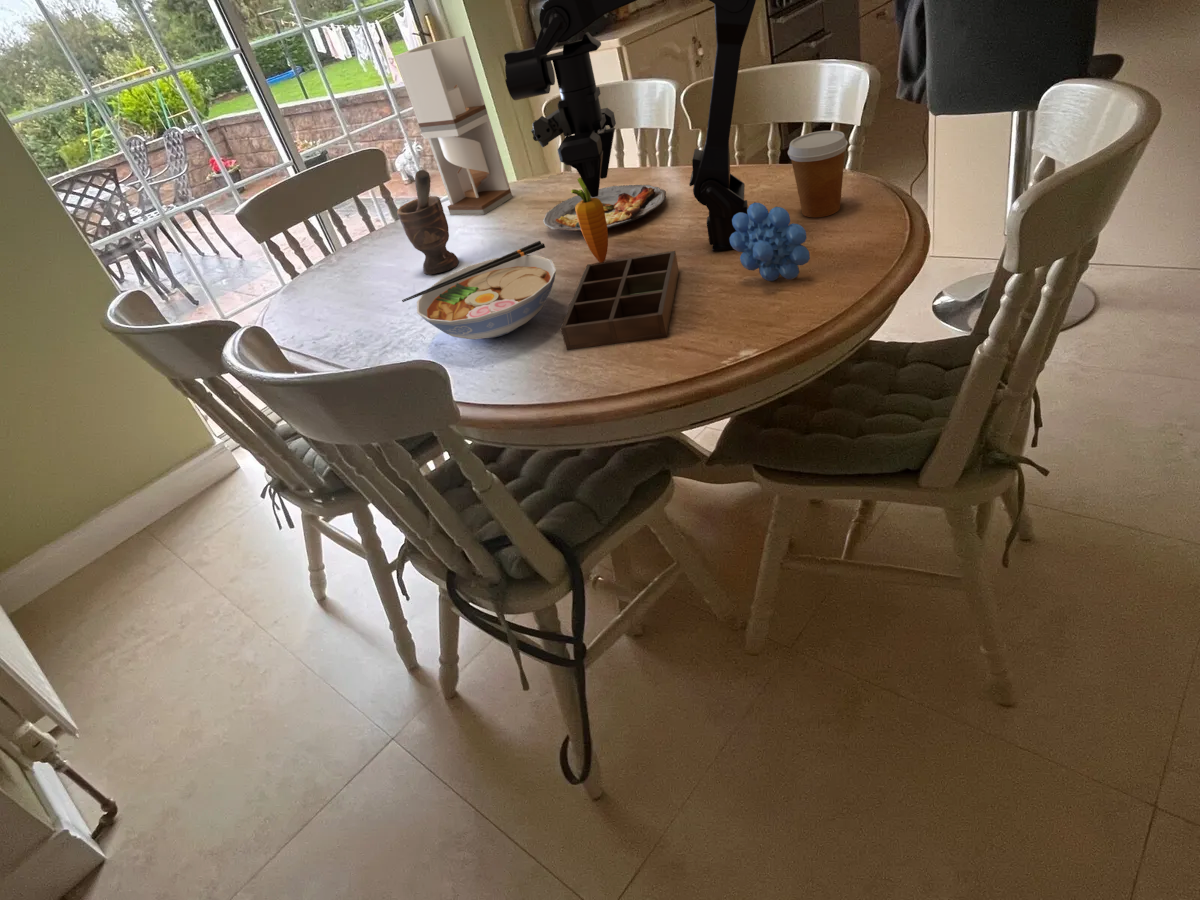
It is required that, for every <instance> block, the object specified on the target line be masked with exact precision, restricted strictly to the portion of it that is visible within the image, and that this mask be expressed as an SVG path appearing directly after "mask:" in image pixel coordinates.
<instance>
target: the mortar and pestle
mask: <svg viewBox="0 0 1200 900" xmlns="http://www.w3.org/2000/svg"><path fill="white" fill-rule="evenodd" d="M431 181H432V180H431V176H430V173H429V172H428V171H427V170H425V169H419V170H418V171H416V172H415V176H414V185H415V192H416V196H417V198H415V199H412V200H411V201H408V202H406V203H404V204H403V205H401V206H400V207H399V208H398V209H397V210H396V214H397V217H398V219H399V222H400V223H401V226H402V229H403V231H404V233H405V235H406V237H407V239H408V241H409V242H410V243H411V244H412V246H413V248H414V249H416V250H417V251H419V252H421V253H422V254H423V255H424V256H425V257H424V261H423V263H422V271H423V272H422V273H424V274H425V275H429V276H431V275H435V274H436V275H437V274H441V273H445V272H449V271H450V270H452V269H454V268H456V267H457V266H458V264H459V258H458V257H457V255H456V254H455V253H454V252H452V251H449V250H448V249H447V244H448V241H449V239H450V233H449V224H448V220H447V217H446V214H445V211H444V207H443V204H442V201H441V198H440V197H439V196H437V195H431V196H430V192H431Z"/></svg>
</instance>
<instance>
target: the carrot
mask: <svg viewBox="0 0 1200 900" xmlns="http://www.w3.org/2000/svg"><path fill="white" fill-rule="evenodd" d="M577 182H578V184H579V185H580V188H581V189H575V188H574V189H573V188H572V189H571V190H570V192H571V194H575V195H576V196H580V197H581V198H582V201H580V202H579V203H578V204H577V205H576V206H575V211H576V215H577V218H578V222H579V225H580V228H581V230H580V231H581V234H582V236H583V238H584V240H585V243H586V245H587V247H588V249H589V251H590V252H591V254H592V255H593V257H594V258H595V259H596V260H597V262H598V263H600V262H606V258H607V255H608V248H609V233H608V228H607V223H606V218H605V213H604V208H603V204H602V202H601V201H600V200H599V199H598V198H591V195H590V193H589V191H588V189H587V188H586V186H585V184H584V182H583V180H582V178H581V176H580V177H578V178H577ZM584 193H585V194H584Z"/></svg>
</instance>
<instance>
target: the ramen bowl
mask: <svg viewBox="0 0 1200 900" xmlns="http://www.w3.org/2000/svg"><path fill="white" fill-rule="evenodd" d="M545 245H546V244H545V243H542V241H541V240H537V241H535V242H533V243H531V244H529V245H526V246H524V247H521V248H519V249H518V250H515V251H511V252H510V253H508V254H505V255H503V256H501V257H494V258H491V259H487V260H483V261H481V262H477V263H473V264H470V265H468V266H465V267H463V268H461V269H458V270H456V271H455V272H452V273H450V274H448V275H446V276H444V277H443V278H440V280H438V281H436V282H435V283H434V284H432V285H431V286H429V287H427V289H424V290H421V291H420V292H417V293H414V294H413V295H411V296H408V297H406V298H403V299H401V302H402V303H404V302H407V301H410V300H412V299H414V298H418V297H419V299H418V300H417V301H416V313H417V314H418V315H419V316H420V317H421V318H422V319H423V320H424V321H426V322H427V323H429V324H430V325H431V326H433V327H435V328H436V329H438V330H439V331H441V332H443V333H444V334H446V335H448V336H451V337H454V338H459V339H467V340H468V339H469V340H480V339H493V338H494V339H495V338H500V337H502V336H505V335H508V334H510V333H512V332H514V331H515V330H516V329H518V328H519V327H521V326H523V325H525V324H527V323H528V322H529V321H530V320H531V319H533V318H534V317H535V316H537V315H538V314H539V312H540V311H541V310H542V309H543V307H544V306H545V303H546V301H547V300H548V298H549V296H550V293H551V291H552V288H553V285H554V282H555V279H556V274H557V268H556V266H555V264H554V262H553V260H552V259H550V258H547V257H544V256H541V255H539V254H533V253H535V252H538V251H541V250H543V249H546V246H545Z"/></svg>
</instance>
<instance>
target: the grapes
mask: <svg viewBox="0 0 1200 900" xmlns="http://www.w3.org/2000/svg"><path fill="white" fill-rule="evenodd" d="M747 213H748V215H747V214H746V213H741V212H739V213H737V214H735V215H734V216H733V219H732V224H733V227H734V228H735V230H736V232H734V233H732V234H731V236H730V238H729V240H730V244H731V246H732V248H733V249H732V250H734V251H737V252H738V253H741V254H740V256H739V261H740V263H741V266H742V267H743V268H744V269H746V270H747V271H755V270H758V271H759V272H758V273H759V275H760V276H761V278H762V279H764V280H765V281H767V282H774V281H776V280H778V279H779V277H780V276H781V277H782V278H784V279H785V280H794V279H795V278H797V277H798V276H799V274H800V269H799V266H804V265H806V264H807V263H809V262H810V259H811V255H810V251H809V249H808V247H806V246H804V245H803V244H804V243H805V242H806V240H807V231H806V229H805V228H804V227H803V226H802V225H801V224H799V223H795V222H793V223H791V216H790V213H789V212H788V210H786V209H785V208H784V207H782V206H775V207H772V208H771V209H770V210H768V208H767V206H765V204H763V203H760V202H753V203H751V204H749V205H748V209H747Z"/></svg>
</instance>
